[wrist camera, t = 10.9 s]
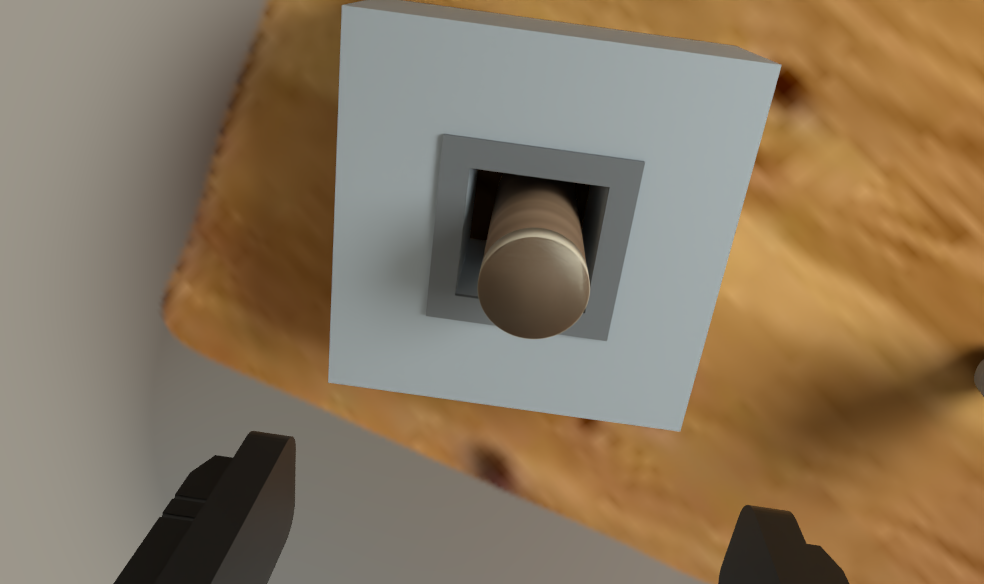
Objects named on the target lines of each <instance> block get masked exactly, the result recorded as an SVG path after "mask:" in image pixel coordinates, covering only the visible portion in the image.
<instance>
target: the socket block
mask: <svg viewBox="0 0 984 584" xmlns="http://www.w3.org/2000/svg"><path fill="white" fill-rule="evenodd" d="M780 69H781V65H780V64H778V63H775V62H773V61H771V60H768V59H766V58H763V57H761V56H759V55H756V54H754V53H752V52H749V51H747V50H744V49H742V48H740V47H737V46H733V45H726V44H718V43H711V42H704V41H696V40H689V39H682V38H674V37H667V36H660V35H652V34H645V33H638V32H630V31H623V30H616V29H608V28H601V27H594V26H586V25H579V24H571V23H564V22H557V21H549V20H542V19H535V18H527V17H520V16H513V15H505V14H498V13H491V12H483V11H476V10H469V9H461V8H454V7H447V6H439V5H432V4H425V3H417V2H410V1H403V0H365V1H360V2H355V3H350V4H345V5H342V18H341V46H340V73H339V101H338V129H337V156H336V184H335V212H334V239H333V267H332V295H331V322H330V350H329V378H328V382H329V383H336V384H343V385H350V386H357V387H364V388H372V389H379V390H386V391H393V392H400V393H407V394H415V395H422V396H429V397H436V398H443V399H450V400H458V401H465V402H472V403H479V404H486V405H493V406H501V407H508V408H515V409H522V410H529V411H537V412H544V413H551V414H558V415H565V416H572V417H580V418H587V419H594V420H601V421H608V422H615V423H623V424H630V425H637V426H644V427H651V428H658V429H666V430H673V431H680V430H681V427H682V423H683V419H684V416H685V412H686V408H687V405H688V401H689V398H690V394H691V390H692V387H693V383H694V380H695V376H696V372H697V369H698V365H699V361H700V358H701V354H702V351H703V347H704V343H705V340H706V336H707V333H708V329H709V325H710V322H711V318H712V314H713V311H714V307H715V304H716V300H717V296H718V293H719V289H720V286H721V282H722V278H723V275H724V271H725V267H726V264H727V260H728V257H729V253H730V249H731V246H732V242H733V239H734V235H735V231H736V228H737V224H738V220H739V217H740V213H741V210H742V206H743V202H744V199H745V195H746V192H747V188H748V184H749V181H750V177H751V173H752V170H753V166H754V163H755V159H756V155H757V152H758V148H759V145H760V141H761V137H762V134H763V130H764V126H765V123H766V119H767V116H768V112H769V108H770V105H771V101H772V98H773V94H774V90H775V87H776V83H777V79H778V76H779V72H780ZM478 169H480V170H488V171H495V172H502V173H509V174H517V175H524V176H531V177H539V178H546V179H553V180H560V181H568V182H575V183H582V184H589V185H590V188H589V193H588V198H587V204H586V209H585V215H584V220H583V226H582V238H583V245H584V251H585V258H586V264H587V268H588V274H589V281H590V295H589V300H588V304H587V306H586V308H585V310H584V312H583V314H582V315H581V317H580V318H579V319H578V320H577V322H575V323H574V324H573V325H572V326H571V327H570V328H568V329H567V330H565V331H564V332H562V333H560V334H558V335H555V336H552V337H549V338H544V339H524V338H519V337H516V336H513V335H510V334H508V333H506V332H504V331H503V330H501V329H499V328H498V327H497V326H496V325H494V324H493V323H492V322H491V321H490V320H489V318H488V317H487V316H486V314H485V313H484V311H483V309H482V307H481V304H480V302H479V297H478V290H477V287H478V278H479V273H480V268H481V264H482V261H483V257H484V252H485V247H486V242H487V240H481V239H474V238H470V235H471V226H472V218H473V209H474V201H475V193H476V184H477V176H478Z"/></svg>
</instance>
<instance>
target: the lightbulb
mask: <svg viewBox="0 0 984 584" xmlns="http://www.w3.org/2000/svg"><path fill="white" fill-rule="evenodd" d="M974 382H975V385H976V387H977V389H978V390H979V391H980V392H981V394H982V395H983V396H984V359H983V360H982V361H981V362H980V364H979V365H978V367H977V369H976V371H975V375H974Z"/></svg>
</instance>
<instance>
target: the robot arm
mask: <svg viewBox="0 0 984 584" xmlns="http://www.w3.org/2000/svg"><path fill="white" fill-rule="evenodd" d="M295 455H296V444H295V439H294V438H293V437H291V436H284V435H277V434H270V433H264V432H257V431H251V432H250V433H249V434H248V435H247V437H246V438H245V440H244V441H243V443H242V445H241V446H240V448H239V449H238V451H237V453H236V454H235V456H234V457H233V458H231V457H224V456H216V455H215V456H214V457H212V458H211V459H209V460H208V461H206V462H205V463H204V464H202V465H200V466H199V467H198V468H196V469H195V470H193V471H192V472H191V473H190V474H189V475H188V477H187V478H186V480H185V481H184V482H183V484H182V485H181V487H180V488H179V490H178V491H177V493H176V494H175V498H174V499H172V500H171V501H170V503H169V504H168V506H167V507H166V509H165V510H164V511H163V515H162V517H159V519H158V520H157V522H156V523H155V524H154V526H153V527H152V529H151V530H150V532H149V533H148V534H147V536H146V537H145V539H144V540H143V542H142V543H141V545H140V546H139V547H138V549H137V550H136V552H135V553H134V555H133V556H132V558H131V559H130V561H129V562H128V563H127V565H126V566H125V568H124V569H123V571H122V572H121V574H120V575H119V576H118V578H117V579H116V581H115V582H114V584H267V583H268V581H269V578H270V576H271V574H272V571H273V569H274V567H275V565H276V563H277V560H278V558H279V556H280V554H281V551H282V549H283V547H284V545H285V543H286V540H287V538H288V535H289V531H290V528H291V524H292V520H293V515H294V507H295V457H296V456H295ZM718 584H849V582H848V580H847V578H846V576H845V574H844V572H843V570H842V569H841V568H840V567H839V566H838V565H837V564H836V563H835V561H834V560H833V559H832V558H831V557H830V556H829V555H828V554H827V553H826V552H825V551H824V550H823V549H822V547H821V546H817V545H811V544H806V542H805V539H804V537H803V535H802V532H801V530H800V528H799V526H798V523H797V521H796V519H795V517H794V515H793V514H792V513H791V512H790V511H785V510H778V509H771V508H764V507H757V506H751V505H746V506H744V507H743V509H742V510H741V512H740V515H739V518H738V520H737V523H736V526H735V529H734V532H733V535H732V538H731V541H730V543H729V546H728V549H727V552H726V555H725V558H724V561H723V564H722V566H721V570H720V575H719V583H718Z"/></svg>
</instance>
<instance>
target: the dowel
mask: <svg viewBox="0 0 984 584" xmlns="http://www.w3.org/2000/svg"><path fill="white" fill-rule="evenodd" d="M477 290H478V297H479V302H480V304H481V307H482V309H483V311H484V313H485V314H486V316H487V317H488V318H489V320H490V321H491V322H492V323H493V324H494V325H496V326H497V327H498V328H499V329H501V330H503V331H504V332H506V333H508V334H510V335H513V336H516V337H519V338H524V339H544V338H549V337H552V336H555V335H558V334H560V333H562V332H564V331H565V330H567V329H568V328H570V327H571V326H572V325H573V324H574V323H575V322H577V320H578V319H579V318H580V317H581V315H582V314H583V312H584V310H585V308H586V306H587V304H588V300H589V295H590V281H589V274H588V268H587V264H586V258H585V251H584V245H583V238H582V231H581V224H580V217H579V211H578V204H577V197H576V190H575V185H574V182H568V181H560V180H553V179H546V178H539V177H531V176H524V175H517V174H509V173H503V175H502V177H501V179H500V181H499V183H498V187H497V192H496V197H495V202H494V207H493V212H492V217H491V222H490V227H489V232H488V237H487V242H486V247H485V252H484V257H483V261H482V264H481V268H480V273H479V278H478V287H477Z"/></svg>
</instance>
